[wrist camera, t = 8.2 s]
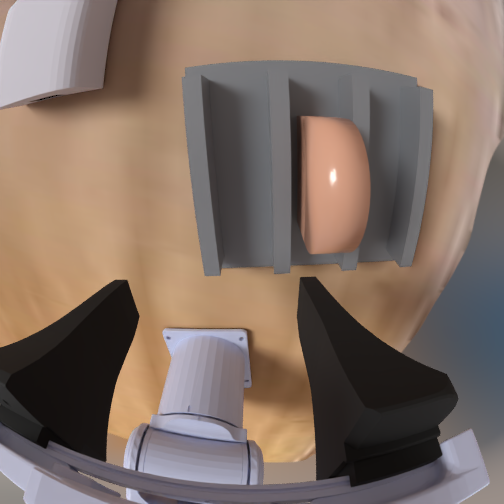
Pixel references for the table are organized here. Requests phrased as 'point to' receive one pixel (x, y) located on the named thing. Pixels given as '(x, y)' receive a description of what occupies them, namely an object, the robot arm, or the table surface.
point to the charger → (53, 49)
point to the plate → (331, 184)
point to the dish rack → (285, 158)
